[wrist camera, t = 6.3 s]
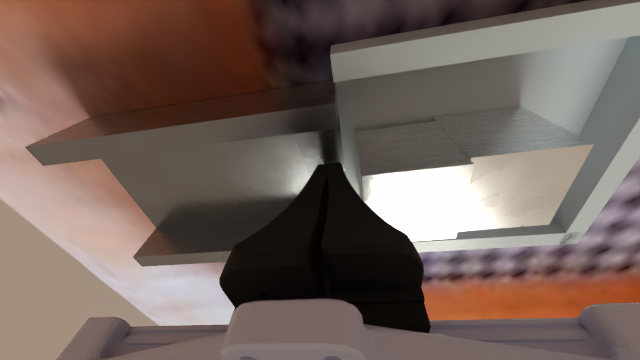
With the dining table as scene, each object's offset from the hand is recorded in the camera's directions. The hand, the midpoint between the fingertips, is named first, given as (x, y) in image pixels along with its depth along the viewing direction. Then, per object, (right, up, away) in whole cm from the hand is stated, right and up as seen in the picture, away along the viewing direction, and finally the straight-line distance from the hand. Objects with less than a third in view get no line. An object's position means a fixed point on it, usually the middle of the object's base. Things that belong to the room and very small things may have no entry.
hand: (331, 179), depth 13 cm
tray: (+7, +2, +1) cm, 7 cm away
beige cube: (+7, +2, 0) cm, 8 cm away
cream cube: (+3, +1, 0) cm, 4 cm away
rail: (-6, +1, +2) cm, 7 cm away
